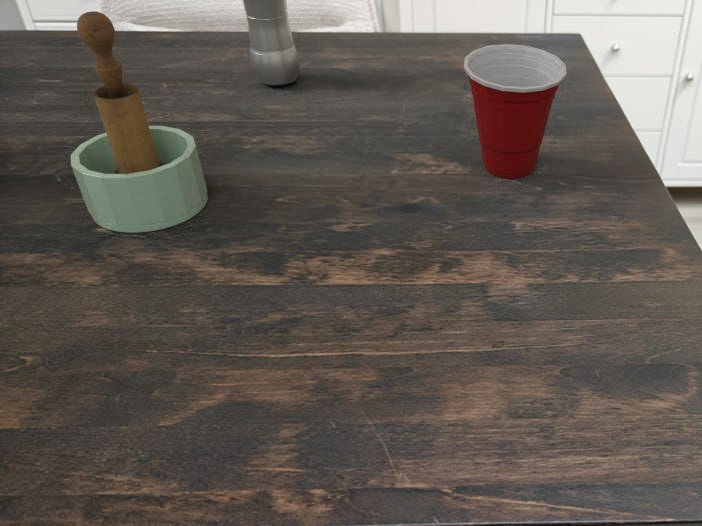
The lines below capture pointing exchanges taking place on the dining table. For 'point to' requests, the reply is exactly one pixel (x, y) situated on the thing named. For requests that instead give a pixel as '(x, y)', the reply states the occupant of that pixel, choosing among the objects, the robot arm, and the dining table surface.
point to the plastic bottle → (271, 42)
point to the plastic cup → (512, 103)
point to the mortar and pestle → (118, 100)
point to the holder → (142, 184)
